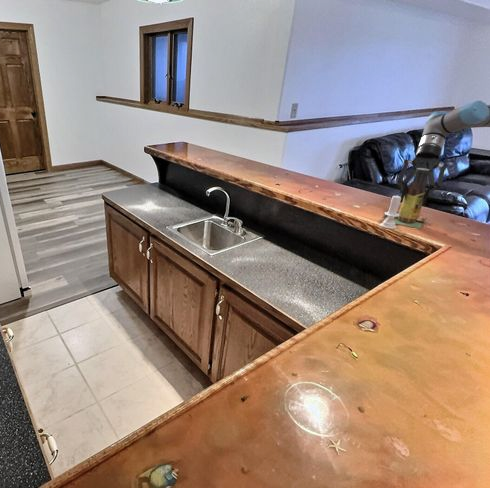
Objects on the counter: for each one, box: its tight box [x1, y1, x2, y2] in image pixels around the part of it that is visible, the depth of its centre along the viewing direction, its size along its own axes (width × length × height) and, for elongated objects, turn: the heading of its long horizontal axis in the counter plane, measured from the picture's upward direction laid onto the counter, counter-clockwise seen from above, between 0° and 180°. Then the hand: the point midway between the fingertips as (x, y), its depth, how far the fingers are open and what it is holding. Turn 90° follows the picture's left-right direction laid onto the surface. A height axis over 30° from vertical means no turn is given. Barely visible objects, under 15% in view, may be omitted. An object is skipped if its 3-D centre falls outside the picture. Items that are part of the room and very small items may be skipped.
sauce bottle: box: [398, 168, 430, 223], centre depth 129 cm, size 7×6×20 cm
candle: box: [379, 194, 401, 230], centre depth 127 cm, size 5×5×12 cm
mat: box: [383, 214, 424, 230], centre depth 134 cm, size 12×10×1 cm
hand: (412, 202), depth 127 cm, fingers closed on sauce bottle, 6 cm apart
